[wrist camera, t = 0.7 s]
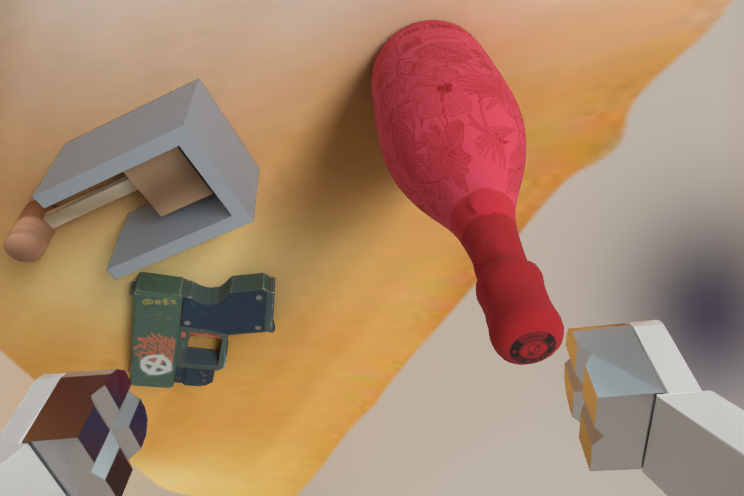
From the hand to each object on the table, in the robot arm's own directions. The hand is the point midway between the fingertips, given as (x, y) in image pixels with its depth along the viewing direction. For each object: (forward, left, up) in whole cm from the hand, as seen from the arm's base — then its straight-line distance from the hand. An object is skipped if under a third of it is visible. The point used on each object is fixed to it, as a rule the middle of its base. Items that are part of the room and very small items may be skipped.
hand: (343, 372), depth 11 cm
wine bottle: (+14, +3, -40) cm, 42 cm away
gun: (+30, -29, -40) cm, 58 cm away
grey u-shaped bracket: (+11, -21, -40) cm, 46 cm away
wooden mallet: (+11, -26, -40) cm, 48 cm away
